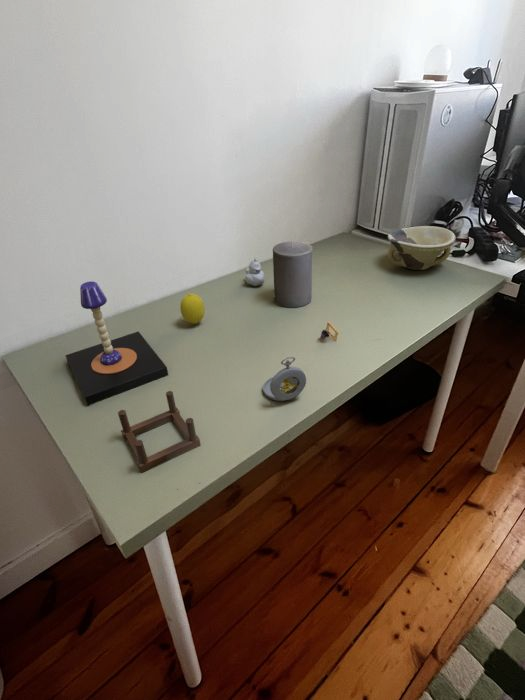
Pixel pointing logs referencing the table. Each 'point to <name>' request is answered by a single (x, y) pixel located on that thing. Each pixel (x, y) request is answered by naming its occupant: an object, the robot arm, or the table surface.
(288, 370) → the pocket watch
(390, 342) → the table surface
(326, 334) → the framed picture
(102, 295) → the toy lamp
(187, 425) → the rack
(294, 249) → the pillar candle
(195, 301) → the lemon
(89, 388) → the stove
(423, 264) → the bowl
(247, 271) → the rubber duck
